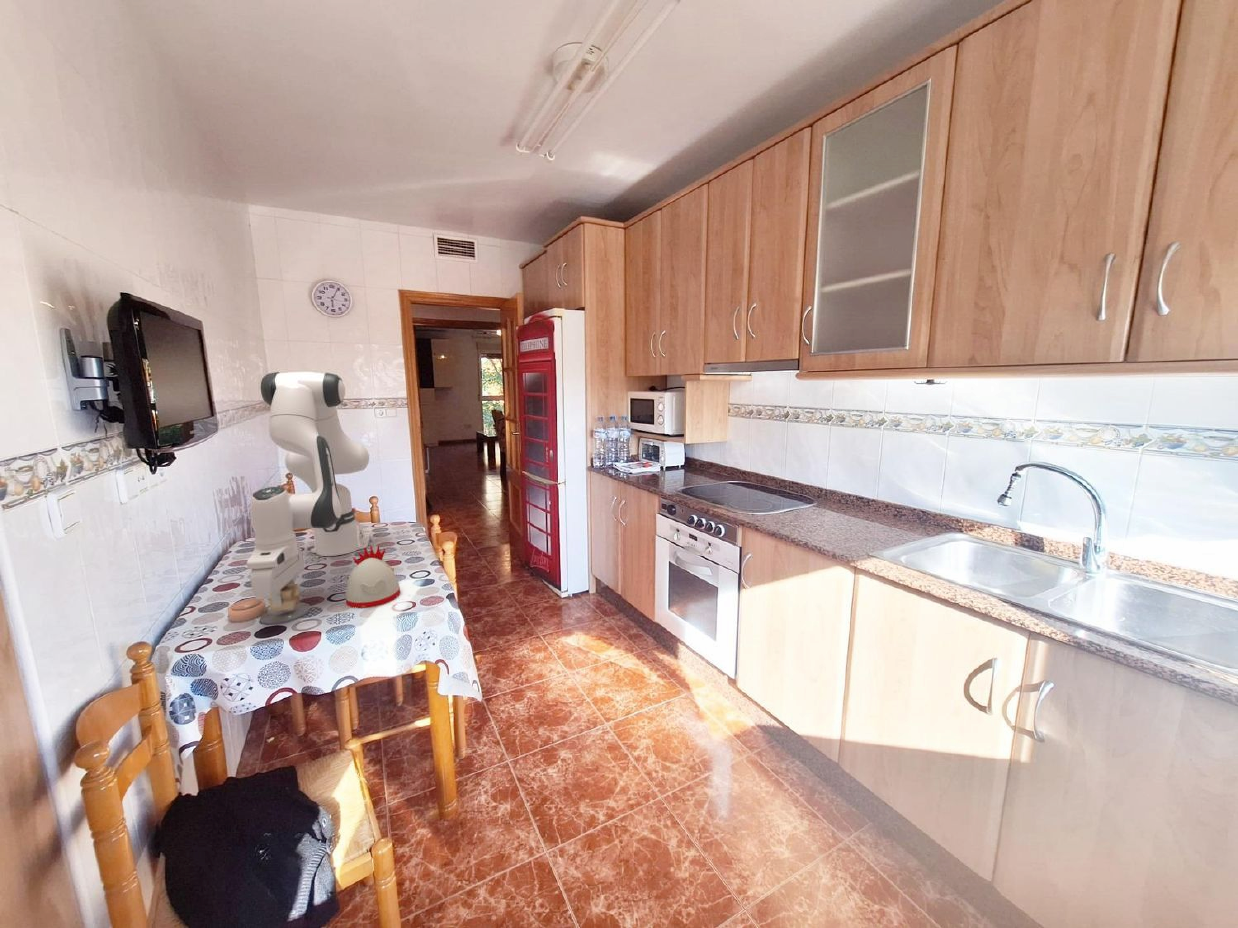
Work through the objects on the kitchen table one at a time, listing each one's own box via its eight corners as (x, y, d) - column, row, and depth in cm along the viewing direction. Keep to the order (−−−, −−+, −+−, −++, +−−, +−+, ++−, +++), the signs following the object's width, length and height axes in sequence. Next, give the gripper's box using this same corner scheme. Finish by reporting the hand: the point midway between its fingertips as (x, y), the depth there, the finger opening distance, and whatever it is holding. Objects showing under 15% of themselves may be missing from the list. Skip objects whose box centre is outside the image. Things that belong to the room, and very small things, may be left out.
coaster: (273, 606, 135) (273, 604, 135) (317, 602, 137) (316, 600, 137) (252, 626, 124) (251, 624, 124) (300, 621, 126) (299, 619, 126)
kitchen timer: (402, 600, 138) (397, 549, 135) (346, 612, 131) (340, 559, 128) (397, 583, 149) (392, 536, 147) (345, 593, 143) (339, 544, 140)
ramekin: (239, 610, 134) (237, 598, 133) (272, 607, 135) (270, 595, 135) (222, 624, 126) (220, 611, 125) (257, 620, 128) (255, 608, 127)
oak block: (279, 602, 132) (276, 585, 131) (299, 601, 133) (297, 583, 132) (270, 611, 127) (267, 593, 126) (291, 609, 128) (289, 591, 127)
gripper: (282, 538, 137) (289, 585, 139) (242, 565, 117) (250, 619, 120) (307, 536, 138) (313, 583, 141) (271, 563, 118) (279, 616, 121)
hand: (284, 600), depth 130 cm, fingers closed on oak block, 5 cm apart
